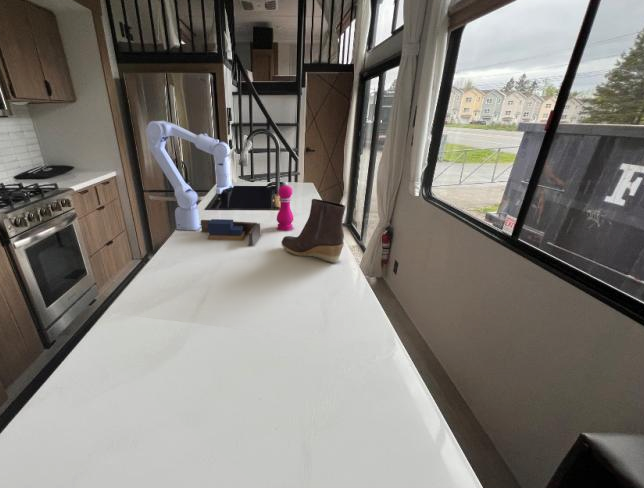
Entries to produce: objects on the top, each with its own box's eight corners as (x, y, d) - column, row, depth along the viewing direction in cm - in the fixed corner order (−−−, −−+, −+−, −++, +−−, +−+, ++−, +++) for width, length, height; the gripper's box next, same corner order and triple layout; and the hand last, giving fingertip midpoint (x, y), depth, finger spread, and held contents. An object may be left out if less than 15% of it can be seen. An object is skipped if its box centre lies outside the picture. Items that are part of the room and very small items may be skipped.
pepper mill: (274, 230, 138) (274, 183, 129) (279, 225, 144) (279, 179, 136) (291, 231, 136) (291, 183, 127) (295, 226, 142) (295, 180, 134)
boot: (289, 243, 124) (290, 191, 116) (347, 258, 111) (353, 200, 102) (276, 250, 118) (276, 195, 109) (336, 267, 105) (341, 206, 96)
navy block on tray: (190, 241, 128) (188, 229, 125) (203, 230, 139) (202, 219, 137) (252, 245, 123) (252, 233, 120) (260, 234, 134) (260, 222, 132)
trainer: (208, 239, 130) (206, 223, 127) (212, 233, 135) (210, 218, 132) (242, 239, 128) (241, 224, 125) (245, 234, 134) (244, 219, 131)
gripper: (226, 177, 124) (229, 212, 130) (238, 171, 137) (239, 203, 143) (209, 177, 126) (212, 211, 132) (222, 171, 139) (224, 202, 144)
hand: (225, 207), depth 138 cm, fingers closed
